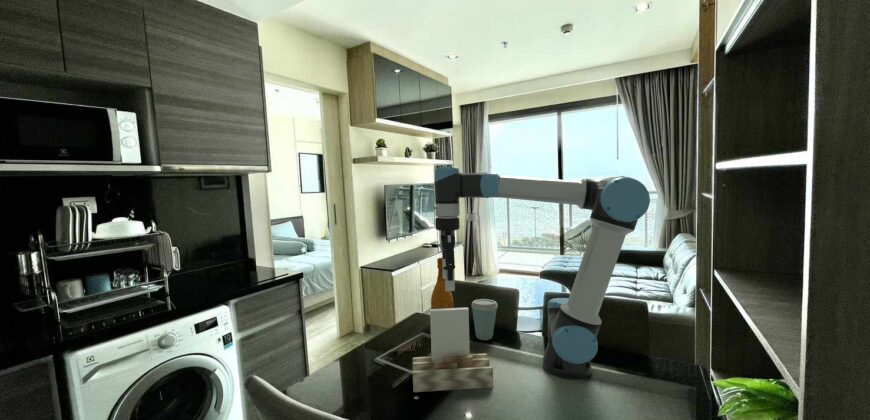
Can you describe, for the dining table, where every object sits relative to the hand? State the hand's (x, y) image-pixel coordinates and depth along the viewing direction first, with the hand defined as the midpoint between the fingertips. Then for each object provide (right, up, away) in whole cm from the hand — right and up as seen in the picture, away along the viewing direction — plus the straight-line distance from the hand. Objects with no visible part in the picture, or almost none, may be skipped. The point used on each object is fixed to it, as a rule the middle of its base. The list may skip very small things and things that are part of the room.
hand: (448, 284), depth 113 cm
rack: (+1, -31, -1) cm, 31 cm away
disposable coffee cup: (+16, -28, +32) cm, 46 cm away
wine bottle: (-1, -28, +46) cm, 54 cm away
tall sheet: (+1, -30, +2) cm, 30 cm away
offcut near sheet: (+3, -30, -2) cm, 30 cm away
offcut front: (-1, -30, -4) cm, 30 cm away
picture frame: (-9, -30, +21) cm, 38 cm away
